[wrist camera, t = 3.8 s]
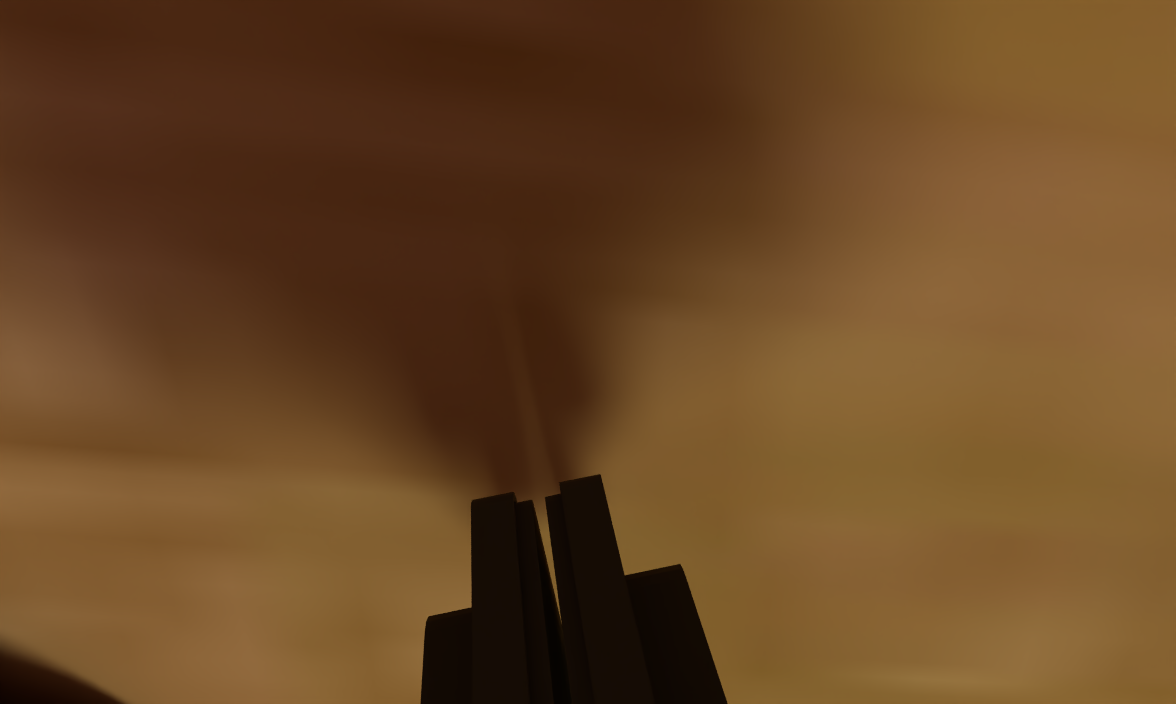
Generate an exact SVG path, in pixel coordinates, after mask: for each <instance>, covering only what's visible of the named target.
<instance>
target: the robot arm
mask: <svg viewBox="0 0 1176 704" xmlns="http://www.w3.org/2000/svg"><path fill="white" fill-rule="evenodd" d="M559 483H560V490H561V494H557V495H552V496H548V497H545V501H546V509H547V516H548V524H549V531H550V539H551V546H552V554H553V561H554V569H555V576H556V584H557V591H558V599H559V606H560V614H561V619H560V615H559V611H558V607H557V602H556V598H555V594H554V589H553V585H552V581H551V576H550V572H549V568H548V564H547V559H546V555H545V551H544V546H543V542H542V538H541V534H540V529H539V525H538V521H537V516H536V512H535V508H534V504H533V501H532V500H528V501H523V502H518V503H517V500H516V496H515V493H514V492H510V493H505V494H500V495H496V496H491V497H486V498H481V499H476V500H472V502H471V573H472V607H471V608H467V609H462V610H457V611H452V612H448V613H443V614H438V615H433V616H429V617H428V619H427V621H426V627H425V638H424V655H423V672H422V689H421V704H727V701H726V698H725V694H724V691H723V688H722V685H721V682H720V679H719V676H718V673H717V670H716V667H715V664H714V661H713V658H712V655H711V652H710V649H709V646H708V643H707V640H706V637H705V634H704V631H703V628H702V625H701V622H700V619H699V616H698V613H697V609H696V606H695V603H694V600H693V597H692V594H691V591H690V588H689V585H688V582H687V579H686V576H685V574H684V571H683V568H682V566H681V565H680V564H678V565H673V566H668V567H663V568H659V569H654V570H649V571H644V572H639V573H635V574H630V575H624V571H623V567H622V563H621V558H620V554H619V550H618V546H617V542H616V537H615V533H614V529H613V525H612V521H611V516H610V512H609V508H608V504H607V500H606V495H605V491H604V487H603V483H602V479H601V475H600V474H599V475H594V476H589V477H584V478H579V479H574V480H569V481H564V482H559ZM561 621H562V624H561Z"/></svg>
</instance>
